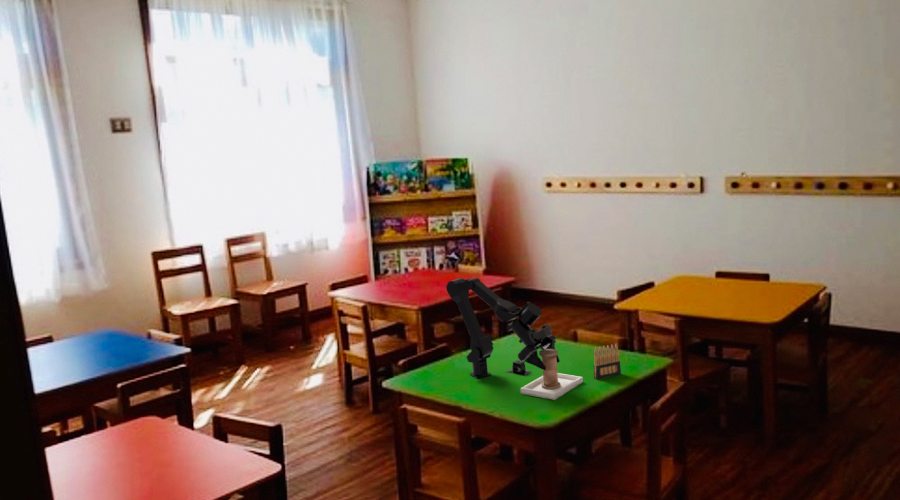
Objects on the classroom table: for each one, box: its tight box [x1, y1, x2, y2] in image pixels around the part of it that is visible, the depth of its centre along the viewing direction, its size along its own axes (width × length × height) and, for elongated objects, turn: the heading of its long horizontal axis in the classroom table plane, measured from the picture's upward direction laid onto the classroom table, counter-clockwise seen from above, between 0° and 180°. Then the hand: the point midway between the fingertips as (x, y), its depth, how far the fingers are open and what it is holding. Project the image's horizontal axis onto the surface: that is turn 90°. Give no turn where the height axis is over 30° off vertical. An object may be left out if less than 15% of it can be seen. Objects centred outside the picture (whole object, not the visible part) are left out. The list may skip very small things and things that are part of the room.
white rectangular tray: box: [520, 372, 584, 401], centre depth 261 cm, size 20×14×2 cm
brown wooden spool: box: [538, 348, 561, 390], centre depth 260 cm, size 7×7×13 cm
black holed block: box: [505, 359, 532, 377], centre depth 281 cm, size 12×7×5 cm, turn 47°
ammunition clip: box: [593, 342, 622, 380], centre depth 267 cm, size 11×2×12 cm, turn 111°
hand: (552, 365), depth 259 cm, fingers open, 9 cm apart
